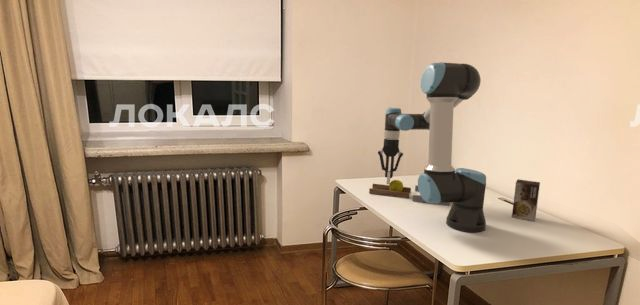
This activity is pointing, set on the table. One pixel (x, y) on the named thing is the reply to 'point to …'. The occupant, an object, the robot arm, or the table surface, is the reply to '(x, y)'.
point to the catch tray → (419, 199)
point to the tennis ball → (396, 185)
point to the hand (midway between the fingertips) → (388, 183)
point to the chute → (385, 190)
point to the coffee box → (525, 200)
